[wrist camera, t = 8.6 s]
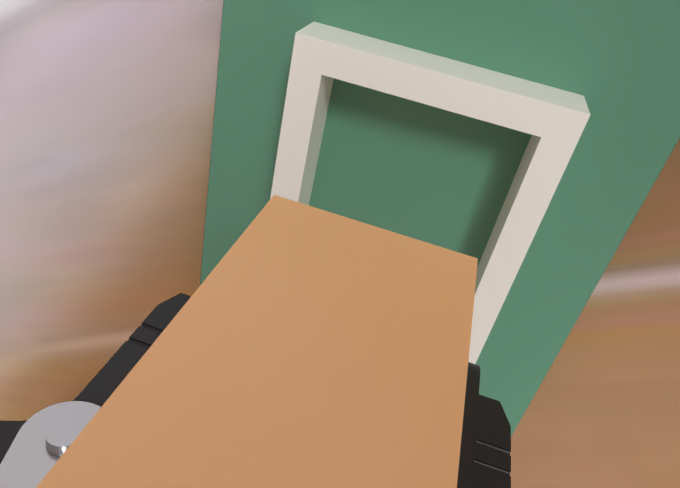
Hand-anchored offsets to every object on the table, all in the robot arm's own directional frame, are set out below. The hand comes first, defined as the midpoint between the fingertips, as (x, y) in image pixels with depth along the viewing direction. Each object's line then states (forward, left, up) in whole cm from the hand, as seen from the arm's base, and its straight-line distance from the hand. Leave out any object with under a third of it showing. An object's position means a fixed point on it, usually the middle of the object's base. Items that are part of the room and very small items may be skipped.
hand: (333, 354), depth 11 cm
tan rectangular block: (0, 0, -1) cm, 1 cm away
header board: (0, 0, -8) cm, 8 cm away
